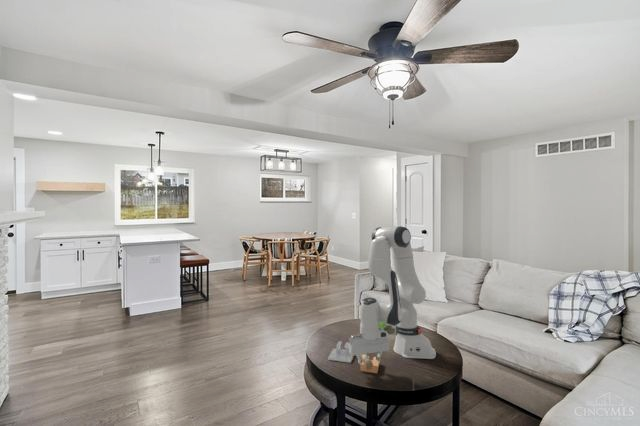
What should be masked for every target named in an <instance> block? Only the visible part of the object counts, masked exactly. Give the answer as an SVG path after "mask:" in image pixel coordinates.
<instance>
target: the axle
mask: <svg viewBox="0 0 640 426" xmlns="http://www.w3.org/2000/svg"><path fill="white" fill-rule="evenodd" d="M368 356H369V355H367V354H361V355H360V358H361V359H362V360H363V362H364V363H365V365H366V366H367V367H368V368H371V367H372V366H373V363H372V362H371V360H372V359H370V356H369V357H368Z"/></svg>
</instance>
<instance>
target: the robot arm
mask: <svg viewBox="0 0 640 426" xmlns="http://www.w3.org/2000/svg"><path fill="white" fill-rule="evenodd" d="M411 239H412V236H411V231H410V230H409V229H408V228H407V227H405V226H402V225H401V226H397V225H396V226H394V225H393V226H392V225H390V226H379V227H376V228H375V229H373V232H372V233H371V241H370V242H371V243H370V246H369V249H368V250H369V251H368V258H367V259H368V261H367V267H368V270H369V273H371V274H372V275H373V276H374V277H376V278H378V279H379V280H380V281H383V282H384V283H385V284H386V285H387V287H388V295H389V303H387V302H382V301H378V299H376V298H374V297H365V298H363V299H362V300H361V301H360V302H361V303H360V307H359V310H360V311H359V319H360V324H359V333H356V334H352V335H351V336H350V337H348V342H349V352H350V354H351V355H353V356H354V357H355V356H356V357H357V362H358V364H359V365H360V363H362V359H361V357H360V355H361V354H373V353H377V354H376V356H375V357H376V360H377V361H379V360H380V361H381V357H382V355H383V352H387V351H389V350H390V339H389V332H387V330H385V329H382V328H379V326H378V322H381V323H386V324H387V325H390V326H394V327H395V331H394V333H395V340H394V346H393V349H392V351H393V352H395V353H396V354H397V355H400V356H402V357H403V358H405V359H424V360H425V359H427V360H434V359H435V358H436V356H437V351H436V349H435V348H433V346H432V343H431V341H430V339H429V338H427V337H426V336H425V335H424V334H423V331H422V329H421V326H420V325H418V313H417V310H416V308H415V306H414V305H420V304H422V303H423V302H424V301H425V299H426V296H427V293H426V289H425V288H424V287H423V285H422V284H421V283H420V280H419V277H418V275H417V271H416V268H415V263H414V254H413V248H412V243H411ZM391 256H392V263H393V264H392V265H393V268H392V266H391Z"/></svg>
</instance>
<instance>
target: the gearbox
mask: <svg viewBox="0 0 640 426" xmlns="http://www.w3.org/2000/svg"><path fill="white" fill-rule="evenodd" d="M378 326H379V328H382V329H383V330H385V329H386V328H387V326H388V324H386V323H381V322H378Z"/></svg>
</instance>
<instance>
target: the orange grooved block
mask: <svg viewBox="0 0 640 426" xmlns="http://www.w3.org/2000/svg"><path fill="white" fill-rule="evenodd" d="M367 356H368V357H369V358H370V356H369V355H367ZM370 360H371V362H372V363H373V366H372V367H371V368H368V367H367V366H366V365H365V363H364V362H363V360H362V363H360V364H359V366H360V372H364V373H372V374H378V371H379V367H380V363H381V362H380V361H381V359H380V360H379V361H377V360H376V356H373V358H372V359H370Z"/></svg>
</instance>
